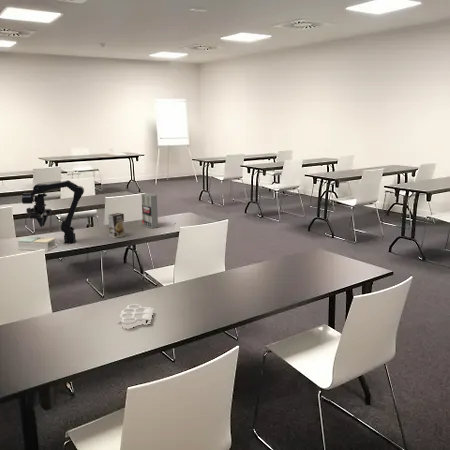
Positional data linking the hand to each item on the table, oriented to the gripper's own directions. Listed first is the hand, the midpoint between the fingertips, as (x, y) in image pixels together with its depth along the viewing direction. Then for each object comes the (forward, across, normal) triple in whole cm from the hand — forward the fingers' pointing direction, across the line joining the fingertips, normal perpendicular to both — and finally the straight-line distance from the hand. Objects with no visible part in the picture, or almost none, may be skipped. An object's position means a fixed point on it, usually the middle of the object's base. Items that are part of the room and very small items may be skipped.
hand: (42, 226), depth 292 cm
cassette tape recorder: (+12, -56, +57) cm, 80 cm away
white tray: (+12, +9, +1) cm, 15 cm away
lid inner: (+7, +10, +6) cm, 14 cm away
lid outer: (+7, +9, -4) cm, 12 cm away
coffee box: (+12, -24, +42) cm, 50 cm away
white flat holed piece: (+12, +103, +96) cm, 141 cm away
